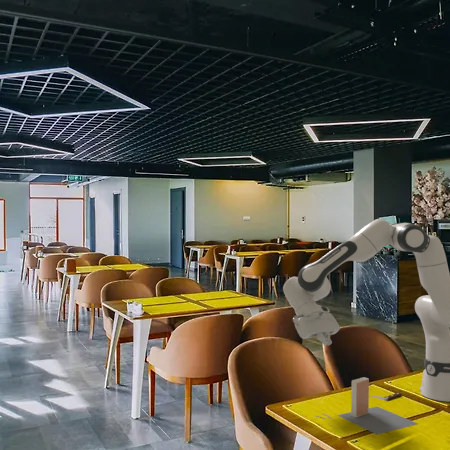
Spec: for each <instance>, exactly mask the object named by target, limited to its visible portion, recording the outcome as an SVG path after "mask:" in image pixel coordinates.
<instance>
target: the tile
mask: <svg viewBox="0 0 450 450" xmlns="http://www.w3.org/2000/svg"><path fill="white" fill-rule="evenodd" d="M369 386H370V380H369V378H368V377H364V376H363V377H359V378H356V379H352V380H351V388H350V389H351V390H350V391H351V393H350V394H351V397H350V399H351V401H350V402H351V403H350V404H351V405H350V407H351V409H350V412H351V416H353V417H359V416H362V415H364V414H367V413H368V409H369V408H370V407H369V400H370V398H369V393H370V390H369V389H370V387H369Z"/></svg>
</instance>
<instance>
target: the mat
mask: <svg viewBox="0 0 450 450" xmlns="http://www.w3.org/2000/svg"><path fill="white" fill-rule="evenodd" d="M337 416H338V417H341V418H342V419H344V420H346V421H348V422H350V423H352V424H354V425H356V426H358V427H361V428H363V429H364V430H367V431H369V432H371V433H373V434H375V435H379V434H380V435H381V434H385V433H388V432H391V431H396V430H400V429H404V428H408V427H411V426H415V425H419V423H417V422H415V421H413V420H411V419H408V418H407V417H406V418H405V417H403V416H401V415H399V414H396V413H394V412H392V411H389V410H387V409H384V408H382V407H380V406H373V407H372V406H371V407H369V409H368V413H367V414H364V415H362V416H359V417H353V416H351V411H350V412H346V413H340V414H337Z"/></svg>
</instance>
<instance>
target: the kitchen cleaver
mask: <svg viewBox="0 0 450 450" xmlns="http://www.w3.org/2000/svg"><path fill="white" fill-rule="evenodd" d="M402 396H403V395H402V393H401V392H394V394H393V393H392V394H390V395H388V396H378V395H371V397H372V398H376V399H379V400H382V401H386V402H389V401H391V400H394V399H398V398H400V397H402Z"/></svg>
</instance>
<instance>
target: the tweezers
mask: <svg viewBox="0 0 450 450" xmlns="http://www.w3.org/2000/svg"><path fill="white" fill-rule="evenodd" d="M321 414H323V415H324V416H326V417H328V418H330V419H332V420H334V418H332V417H331V416H329V415H327V414H326V413H323V412H322V413H321ZM315 417H317V418H321V419H324V420H327V421H328V419H327V418H325V417H322V416H319V415H315Z"/></svg>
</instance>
